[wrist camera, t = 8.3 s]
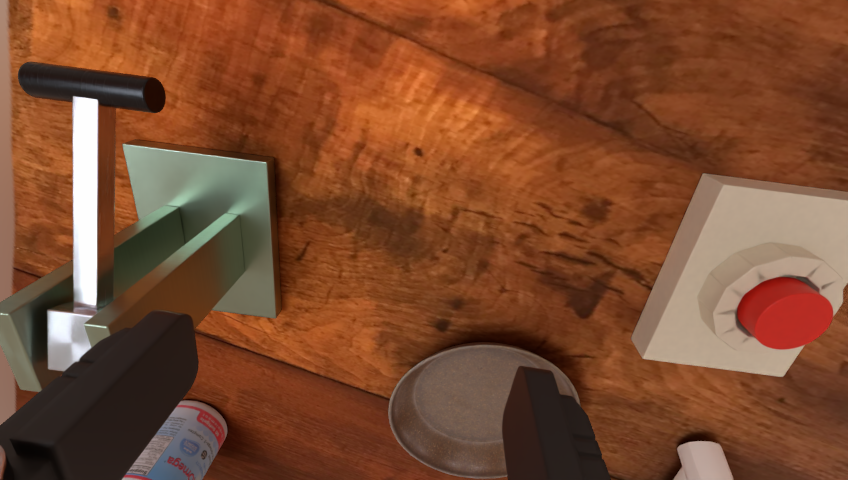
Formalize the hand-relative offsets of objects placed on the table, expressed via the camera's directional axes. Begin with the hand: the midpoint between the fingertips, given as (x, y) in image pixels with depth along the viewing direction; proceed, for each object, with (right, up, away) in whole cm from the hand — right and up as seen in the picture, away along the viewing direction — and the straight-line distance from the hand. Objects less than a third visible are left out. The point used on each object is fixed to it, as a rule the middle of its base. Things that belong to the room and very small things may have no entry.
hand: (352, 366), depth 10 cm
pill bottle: (-19, -13, +28) cm, 36 cm away
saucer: (+6, -10, +24) cm, 27 cm away
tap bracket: (-13, +4, +19) cm, 23 cm away
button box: (+23, +1, +18) cm, 29 cm away
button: (+23, -1, +15) cm, 27 cm away
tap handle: (-13, +4, +9) cm, 16 cm away
